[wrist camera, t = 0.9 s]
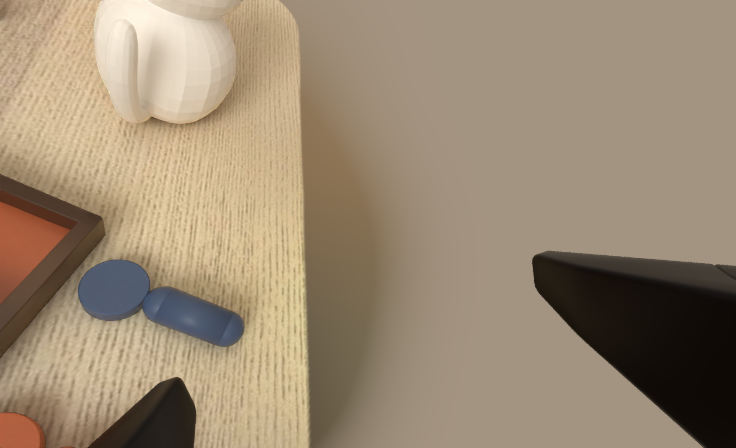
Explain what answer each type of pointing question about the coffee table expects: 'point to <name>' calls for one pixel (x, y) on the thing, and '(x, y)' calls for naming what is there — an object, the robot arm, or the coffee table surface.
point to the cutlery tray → (37, 251)
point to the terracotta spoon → (20, 432)
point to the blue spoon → (155, 303)
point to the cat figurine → (165, 57)
